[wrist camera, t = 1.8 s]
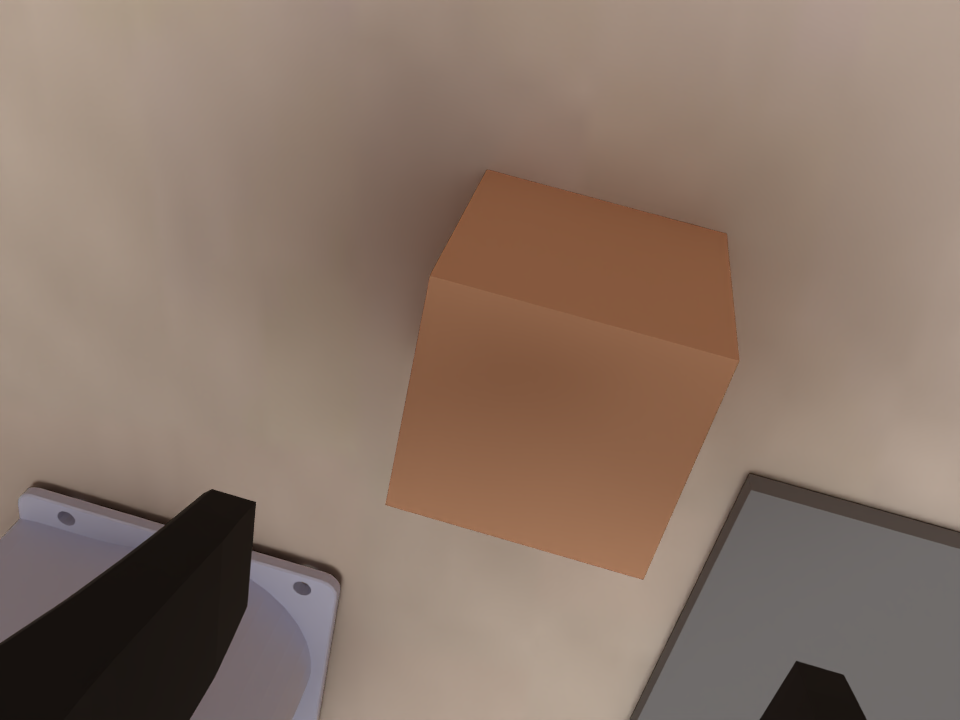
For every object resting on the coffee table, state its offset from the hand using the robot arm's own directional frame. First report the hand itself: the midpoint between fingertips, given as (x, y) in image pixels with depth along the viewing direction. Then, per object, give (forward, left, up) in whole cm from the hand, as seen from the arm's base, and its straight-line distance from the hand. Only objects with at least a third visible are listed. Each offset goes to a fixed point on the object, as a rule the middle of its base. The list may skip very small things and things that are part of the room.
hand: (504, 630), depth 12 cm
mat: (+10, -8, -9) cm, 16 cm away
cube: (0, 0, -9) cm, 9 cm away
